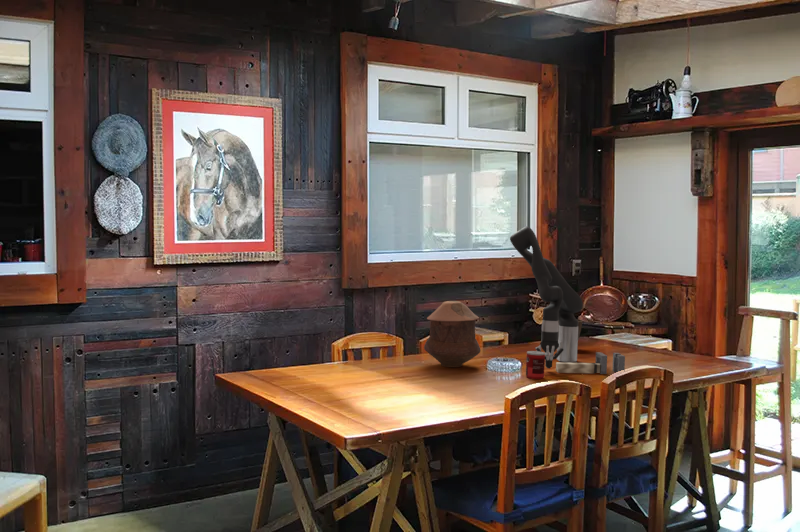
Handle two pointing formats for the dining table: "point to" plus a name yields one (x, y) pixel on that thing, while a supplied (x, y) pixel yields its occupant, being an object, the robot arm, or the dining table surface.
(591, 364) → the ash bar
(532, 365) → the canned food
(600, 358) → the iron collars
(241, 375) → the dining table surface
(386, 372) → the dining table surface
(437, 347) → the pottery vessel
